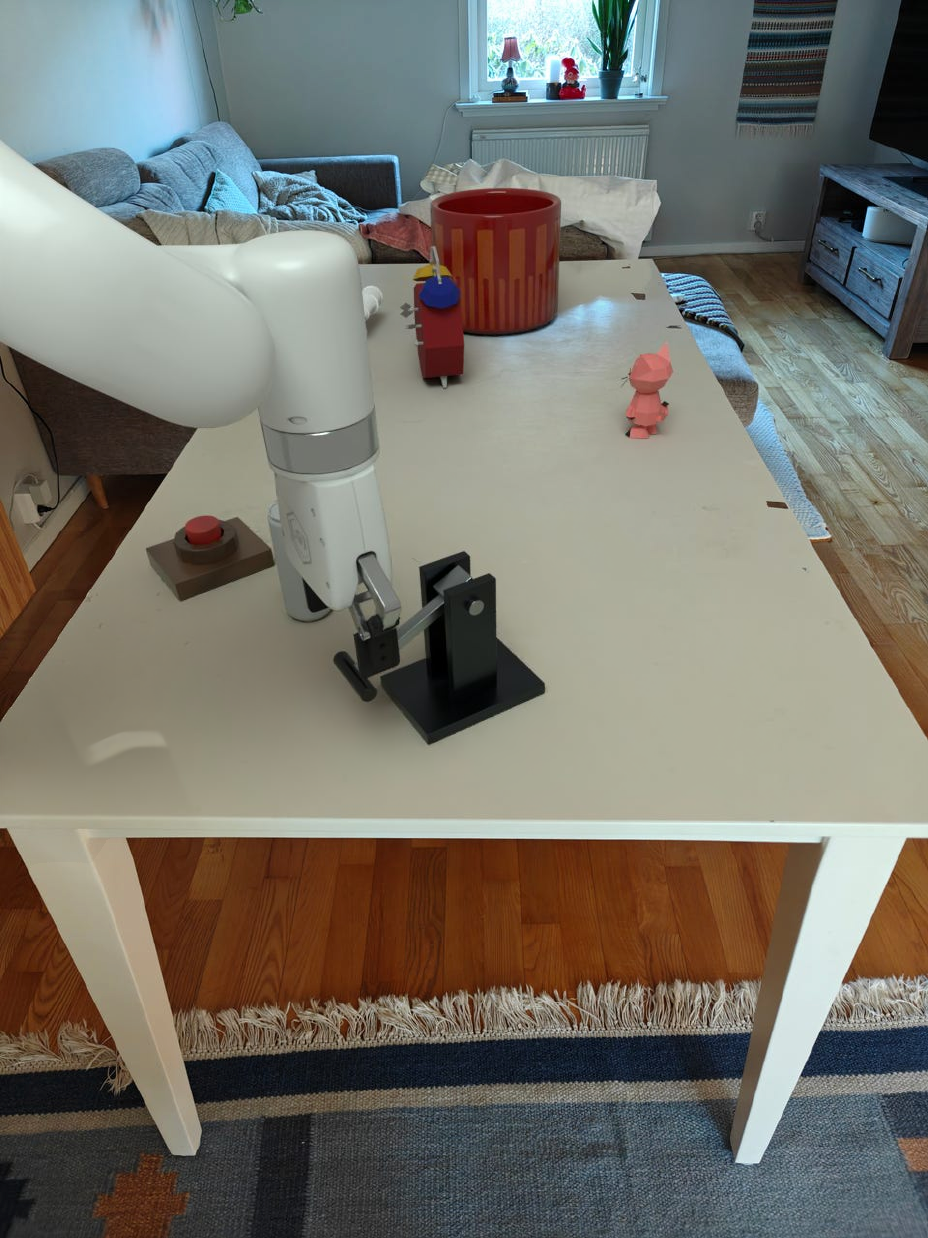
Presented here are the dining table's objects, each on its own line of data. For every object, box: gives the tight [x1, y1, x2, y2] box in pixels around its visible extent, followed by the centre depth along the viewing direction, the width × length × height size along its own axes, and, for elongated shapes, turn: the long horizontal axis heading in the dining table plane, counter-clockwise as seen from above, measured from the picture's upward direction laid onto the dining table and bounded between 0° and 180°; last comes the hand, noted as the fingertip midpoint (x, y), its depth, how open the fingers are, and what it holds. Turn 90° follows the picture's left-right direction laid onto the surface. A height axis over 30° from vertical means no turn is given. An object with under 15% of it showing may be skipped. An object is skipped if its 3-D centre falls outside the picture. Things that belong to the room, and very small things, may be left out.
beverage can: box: [267, 500, 332, 623], centre depth 84 cm, size 5×5×12 cm
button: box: [184, 514, 222, 545], centre depth 92 cm, size 4×4×2 cm
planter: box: [429, 187, 562, 336], centre depth 154 cm, size 23×23×20 cm
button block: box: [145, 516, 275, 602], centre depth 94 cm, size 11×9×4 cm
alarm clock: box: [399, 246, 465, 389], centre depth 131 cm, size 15×9×20 cm, turn 9°
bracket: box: [379, 550, 546, 746], centre depth 73 cm, size 12×9×13 cm
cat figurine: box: [620, 342, 674, 440], centre depth 115 cm, size 7×7×12 cm
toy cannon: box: [362, 285, 384, 333], centre depth 154 cm, size 8×14×5 cm
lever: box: [332, 565, 474, 703], centre depth 70 cm, size 13×6×2 cm, turn 121°
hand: (352, 636), depth 67 cm, fingers open, 9 cm apart
